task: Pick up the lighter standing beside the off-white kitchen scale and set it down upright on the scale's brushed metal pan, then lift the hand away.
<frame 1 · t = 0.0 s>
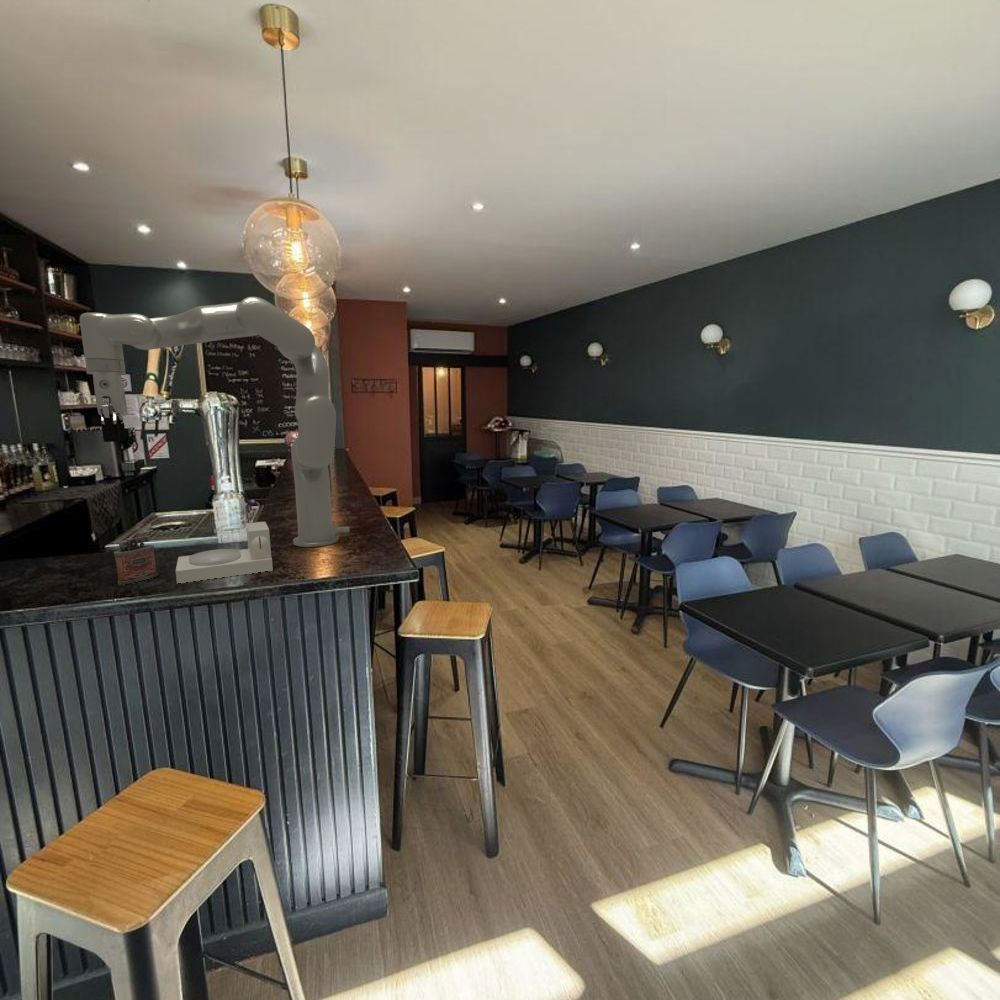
hand: (115, 440, 130), 31 cm above the countertop, tool pointing down, fingers open, 9 cm apart
kitchen scale: (226, 569, 130), on the countertop
lighter: (138, 581, 123), on the countertop
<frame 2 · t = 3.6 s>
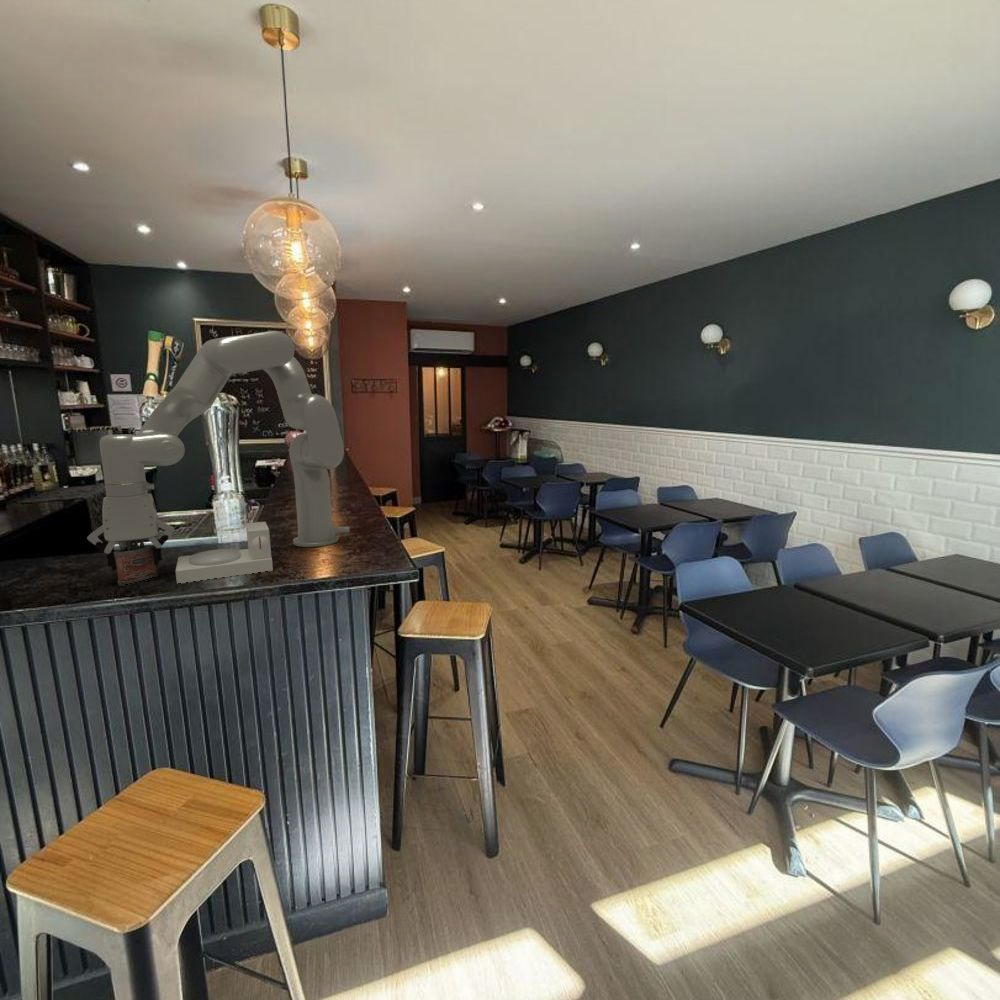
hand: (136, 565, 122), 3 cm above the countertop, tool pointing down, fingers closed on lighter, 7 cm apart
lighter: (138, 580, 123), on the countertop, touching gripper
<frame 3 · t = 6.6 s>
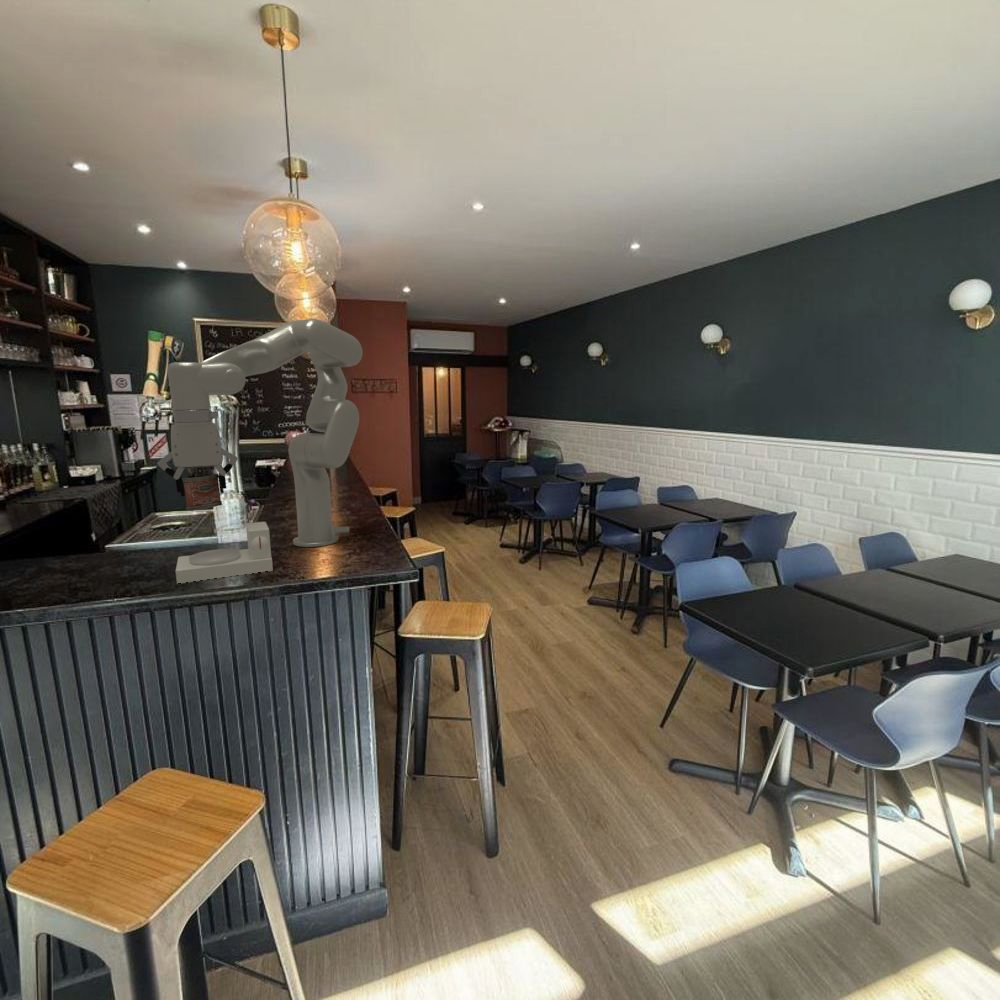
hand: (202, 493, 126), 19 cm above the countertop, tool pointing down, fingers closed on lighter, 7 cm apart
lighter: (204, 508, 127), point 16 cm above the countertop, touching gripper
when the fingers open (9 cm above the countertop, at t = 9.8 s): lighter drops 1 cm, resting on kitchen scale.
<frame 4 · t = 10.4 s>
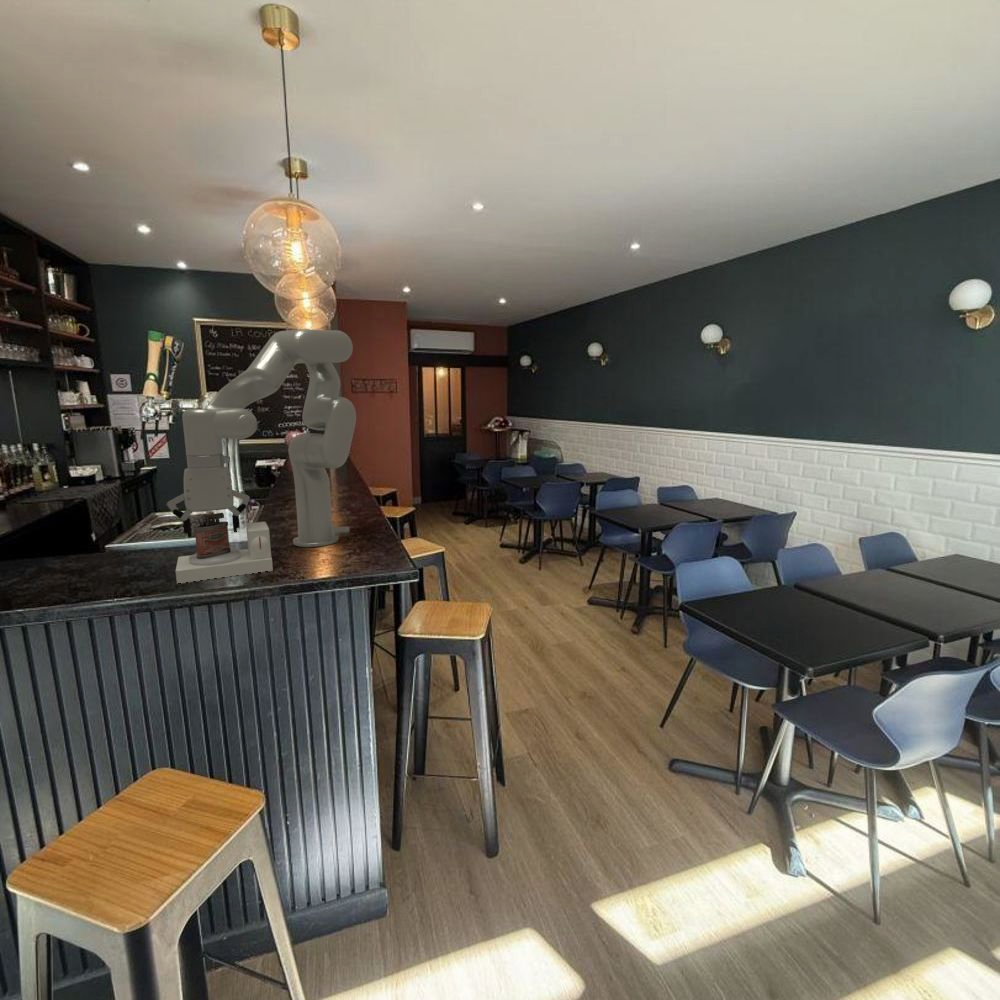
hand: (212, 533, 128), 9 cm above the countertop, tool pointing down, fingers open, 9 cm apart
lighter: (214, 555, 129), point 4 cm above the countertop, touching kitchen scale
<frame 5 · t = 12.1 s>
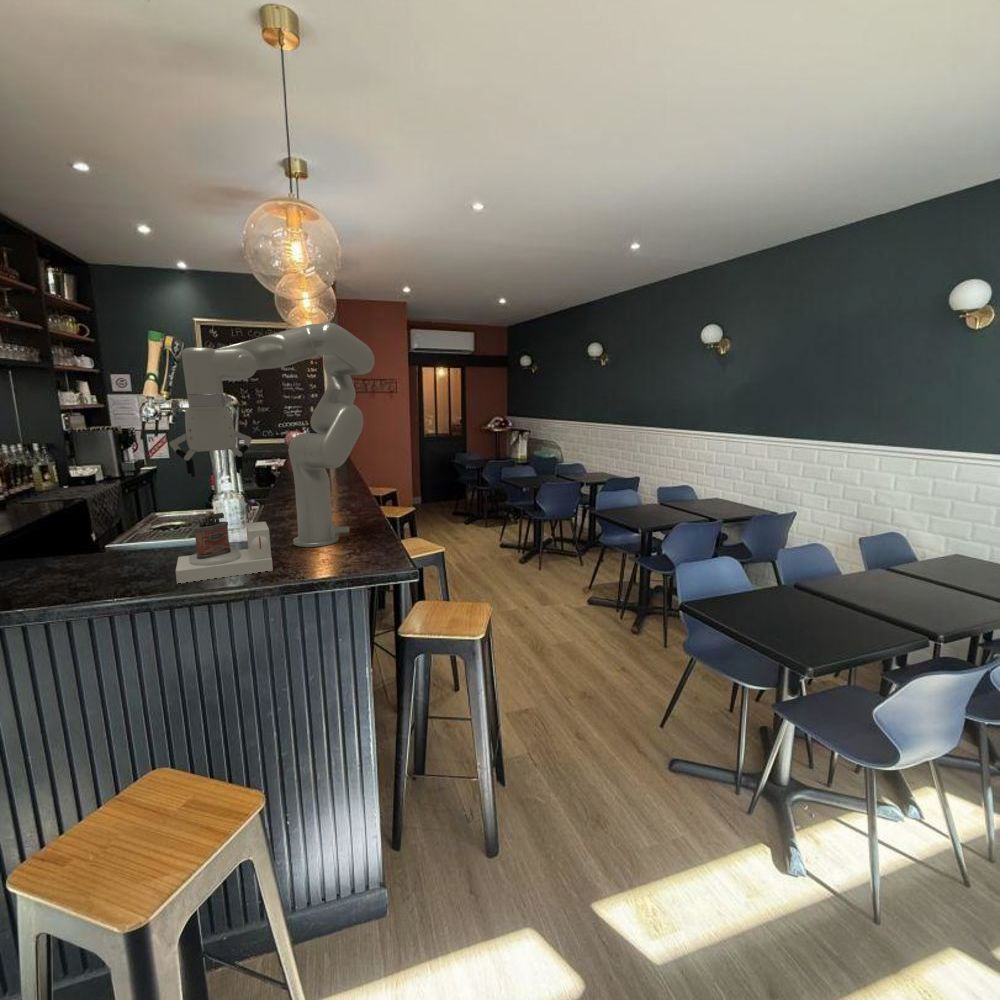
hand: (216, 474, 129), 23 cm above the countertop, tool pointing down, fingers open, 9 cm apart
nothing on the countertop moved.
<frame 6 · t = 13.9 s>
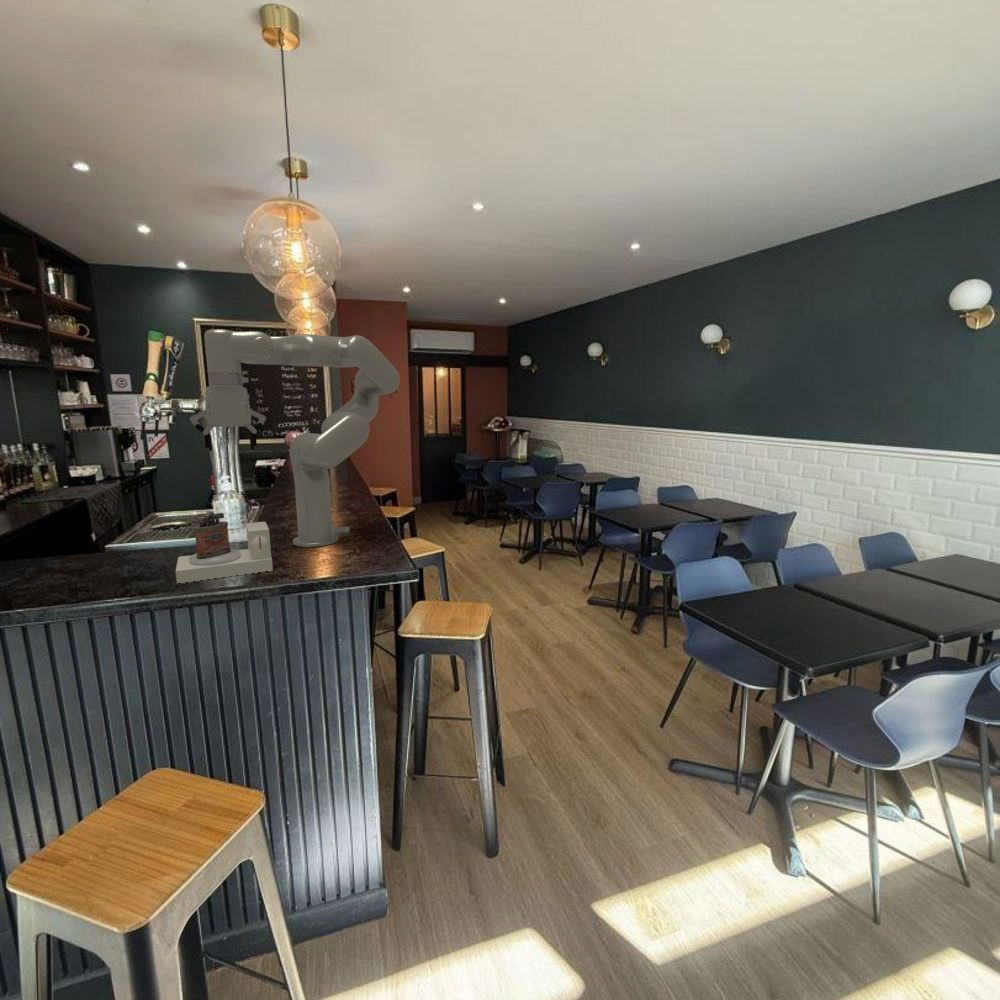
hand: (231, 449, 137), 28 cm above the countertop, tool pointing down, fingers open, 9 cm apart
nothing on the countertop moved.
at the end: lighter inside the target area on the kitchen scale (0.2 cm from its centre), point 3.8 cm above the kitchen scale's base; lighter tilted 0°; the gripper is holding nothing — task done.
